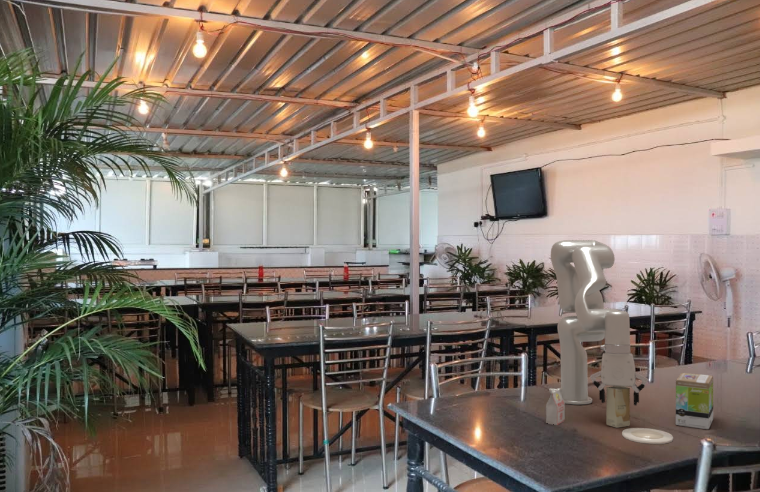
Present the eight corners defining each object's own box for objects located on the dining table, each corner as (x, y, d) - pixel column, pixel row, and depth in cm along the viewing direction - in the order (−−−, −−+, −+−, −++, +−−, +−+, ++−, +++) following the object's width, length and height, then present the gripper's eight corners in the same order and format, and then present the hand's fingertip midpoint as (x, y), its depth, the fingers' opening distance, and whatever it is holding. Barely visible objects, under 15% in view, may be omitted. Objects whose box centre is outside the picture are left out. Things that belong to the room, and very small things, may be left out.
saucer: (620, 440, 184) (619, 437, 184) (624, 428, 196) (624, 425, 196) (672, 446, 178) (672, 443, 178) (673, 433, 190) (673, 430, 190)
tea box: (710, 430, 194) (709, 382, 194) (674, 425, 199) (674, 379, 199) (714, 419, 207) (713, 374, 207) (680, 415, 212) (679, 371, 212)
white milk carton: (546, 423, 203) (545, 392, 203) (554, 418, 209) (553, 389, 209) (557, 425, 201) (556, 394, 201) (564, 420, 206) (564, 390, 206)
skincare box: (616, 428, 197) (616, 389, 197) (605, 425, 200) (605, 386, 201) (631, 425, 200) (630, 387, 200) (620, 422, 203) (619, 384, 204)
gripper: (587, 349, 201) (589, 403, 200) (646, 352, 193) (647, 408, 192) (591, 347, 207) (592, 399, 207) (647, 349, 200) (649, 403, 199)
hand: (619, 403), depth 199 cm, fingers open, 9 cm apart
